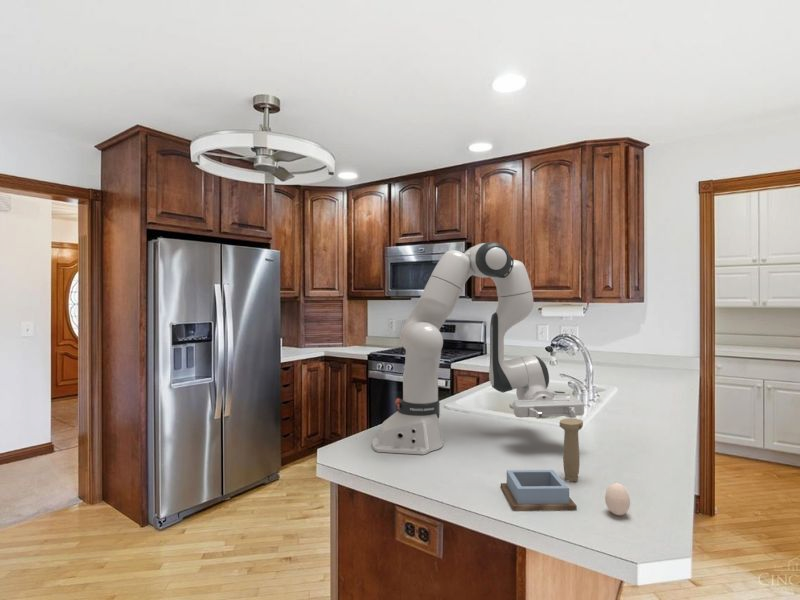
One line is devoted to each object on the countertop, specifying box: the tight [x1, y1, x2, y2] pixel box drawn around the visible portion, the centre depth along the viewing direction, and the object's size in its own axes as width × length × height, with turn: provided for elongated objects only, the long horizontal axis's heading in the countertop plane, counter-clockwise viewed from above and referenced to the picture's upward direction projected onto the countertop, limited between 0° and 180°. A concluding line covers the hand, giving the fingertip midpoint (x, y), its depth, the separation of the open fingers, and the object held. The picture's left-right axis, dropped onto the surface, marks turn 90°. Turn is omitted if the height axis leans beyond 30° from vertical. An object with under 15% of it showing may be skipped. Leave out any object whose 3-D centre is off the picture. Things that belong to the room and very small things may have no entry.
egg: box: [604, 482, 631, 516], centre depth 97 cm, size 5×5×7 cm
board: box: [500, 482, 578, 512], centre depth 105 cm, size 14×12×1 cm
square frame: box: [506, 469, 570, 504], centre depth 105 cm, size 11×10×4 cm
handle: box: [559, 417, 584, 483], centre depth 115 cm, size 5×6×15 cm
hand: (556, 415), depth 127 cm, fingers open, 8 cm apart
